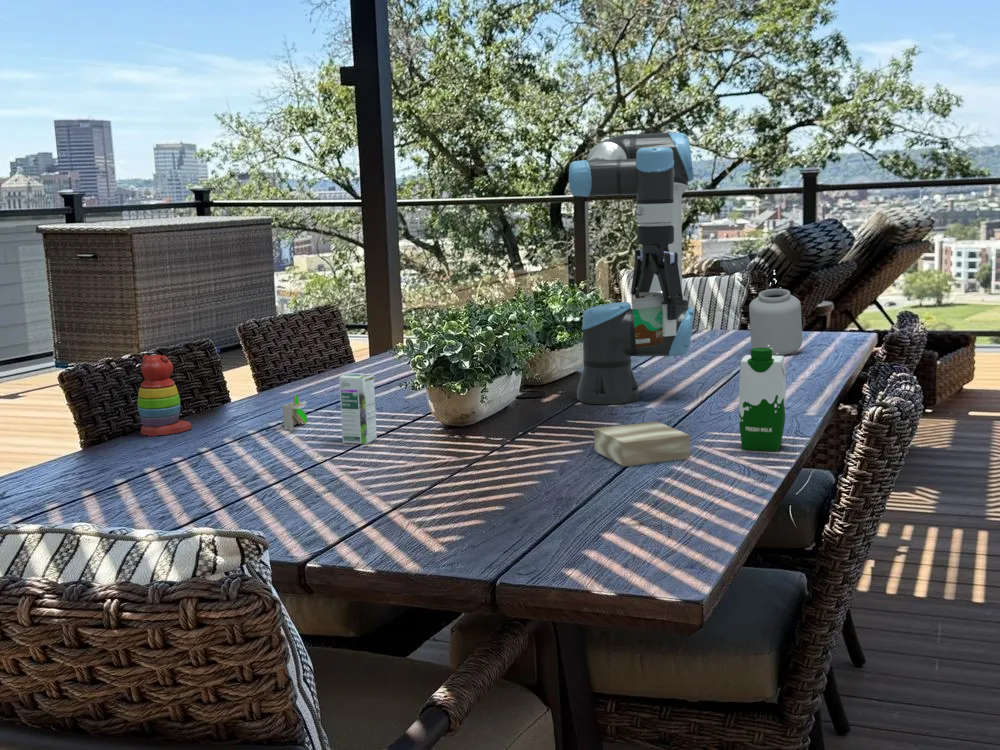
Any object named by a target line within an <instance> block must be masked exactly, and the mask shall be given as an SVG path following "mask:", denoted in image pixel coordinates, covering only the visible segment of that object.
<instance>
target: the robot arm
mask: <svg viewBox="0 0 1000 750" xmlns="http://www.w3.org/2000/svg"><path fill="white" fill-rule="evenodd" d="M568 167H569V169H568V183H569V184H568V185H569V191H570V194H571V195H572V196H574V197H584V198H587V197H597V196H599V197H601V196H633V195H636V209H635V214H636V223H638V224H639V225H640V226H637V227H636V243H637V244H638V245H642V249H634V266H633V274H632V280H631V288H630V294H631V295H632V296H634V297H635V298H634V299H636V298H639V293H643V292H659V293H662V294H663V297H664V301H663V302H662V305H663V343H662V344H659V345H655V346H648V347H637V348H636V342H635V331H634V319H633V309H632V304H631V303H630V302H628V301H627V302H626V301H624V302H622V301H621V302H620V301H619V302H610V303H605V304H599V305H594V306H591V307H589V308H587V309H585V311H584V312H583V313H582V327H581V330H582V347H583V348H582V352H583V353H582V355H583V356H582V358H583V360H582V361H583V362H582V363H583V367H582V368H583V369H582V373H581V376H580V379H579V381H578V386H577V388H576V389H577V390H576V400H577V401H579V402H580V403H581V402H582V403H585V404H591V405H592V404H593V405H620V404H628V403H633V402H636V401H638V400H639V398H640V391H639V390H640V389H639V387H638V384H637V380H636V378H635V374H634V371H633V369H632V357H667V358H670V357H679V356H680V357H681V356H685V355H686V354H688V353H689V351H690V346H691V340H692V333H693V327H694V326H693V324H694V316H695V308H694V307H692V306H689V299H688V298H687V297H686V296H685V295H684V294H683V278H682V277H683V272H682V271H683V270H682V269H683V267H682V266H683V264H682V263H683V262H682V261H683V260H682V259H683V258H682V257H683V256H682V255H683V253H682V251H683V249H682V248H683V247H682V243H683V242H682V241H683V236H682V234H683V231H682V219H683V218H682V217H683V216H682V214H683V213H682V212H683V211H682V206H683V205H682V201H683V200H682V196H683V194H684V193H686V191H687V190H688V189H689V183H690V182H691V181H693V180H694V179H695V177H694V175H695V174H694V167H693V159H692V151H691V145H690V139H689V137H688V135H687V134H685V133H683V132H670V131H668V132H654V133H653V132H649V133H626V134H621V135H620V134H619V135H615V136H613V137H610V138H607V139H605V140H602V141H601V142H598V143H597V144H595V146H593V148H591V149H590V151H589V153H588V156H587V159H586V160H585V159H581V160H574V161H572V162H570V164H569V166H568ZM688 182H689V183H688Z"/></svg>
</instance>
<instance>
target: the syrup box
mask: <svg viewBox="0 0 1000 750" xmlns="http://www.w3.org/2000/svg"><path fill="white" fill-rule="evenodd" d="M374 377H375V375H374V373H354V372H353V373H351V372H349V373H345V374H343V375H340V376H339V377H338V382H339V383H338V385H339V387H338V388H339V400H340V401H339V402H340V417H341V418H340V419H341V436H342V437H341V439H342V440H341V441H342V444H354V445H367V444H369V443H371V442H374V440H377V439H378V437H377V433H378V432H377V416H376V399H375V398H376V395H375V378H374Z"/></svg>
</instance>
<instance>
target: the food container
mask: <svg viewBox="0 0 1000 750" xmlns="http://www.w3.org/2000/svg"><path fill="white" fill-rule="evenodd" d="M663 301H664V297H663V294H662V293H659V292H643V293H639V298H631V308H632V309H633V319H634V331H635V342H636V348H637V347H648V346H655V345H659V344H662V343H663V305H662V302H663Z"/></svg>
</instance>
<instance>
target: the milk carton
mask: <svg viewBox="0 0 1000 750" xmlns="http://www.w3.org/2000/svg"><path fill="white" fill-rule="evenodd" d="M784 356H785V355H781V356H772V349H769V348H754V349H753V348H751V349H750V354H745V356H743V357H742V359H741V360H740V363H739V380H738V381H739V386H738V387H739V388H738V389H739V391H738V394H739V395H738V396H739V397H738V398H739V399H738V400H739V401H738V402H739V403H738V413H739V414H738V416H739V417H738V418H739V419H738V422H739V424H738V425H739V433H740V442H741V448H742V449H741V450H742V451H759V452H760V451H764V452H765V451H766V452H779V450H780V447H781V445H782V443H783V442H782V441H783V437H784V430H785V426H786V425H785V423H786V422H785V421H786V376H787V372H786V371H787V370H786V365H785V357H784Z"/></svg>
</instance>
